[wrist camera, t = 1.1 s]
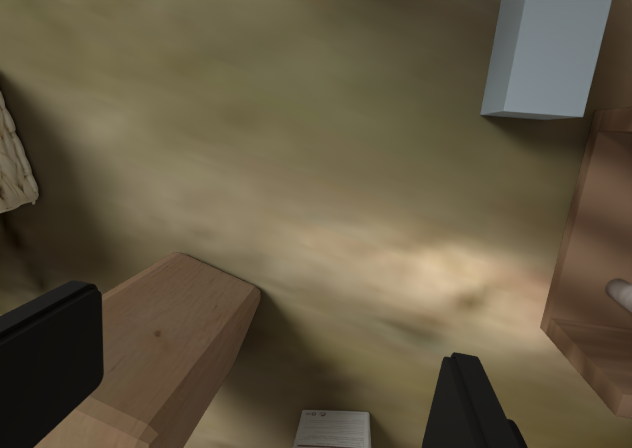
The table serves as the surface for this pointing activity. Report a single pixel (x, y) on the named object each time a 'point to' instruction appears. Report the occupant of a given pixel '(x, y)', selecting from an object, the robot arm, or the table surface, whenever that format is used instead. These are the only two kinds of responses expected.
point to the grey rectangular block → (544, 58)
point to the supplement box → (333, 429)
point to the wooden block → (161, 356)
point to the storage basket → (13, 166)
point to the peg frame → (598, 266)
